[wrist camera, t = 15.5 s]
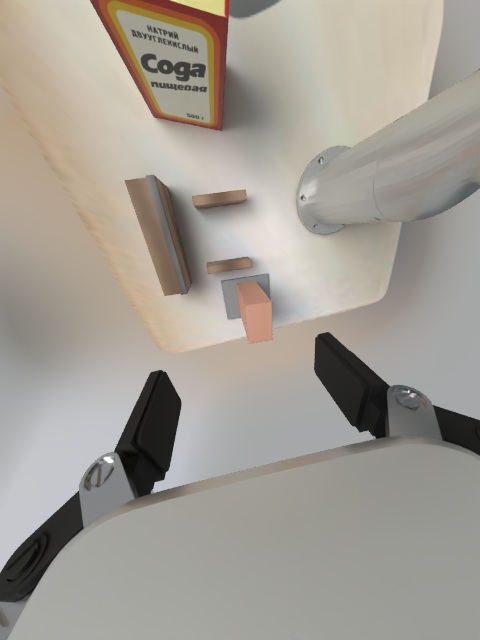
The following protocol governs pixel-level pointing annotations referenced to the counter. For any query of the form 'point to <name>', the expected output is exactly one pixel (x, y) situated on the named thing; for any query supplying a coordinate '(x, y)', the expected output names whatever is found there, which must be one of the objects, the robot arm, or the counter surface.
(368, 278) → the counter surface
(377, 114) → the counter surface
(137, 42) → the baking soda box
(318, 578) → the robot arm
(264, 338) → the salmon pink block
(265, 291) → the grey mat
